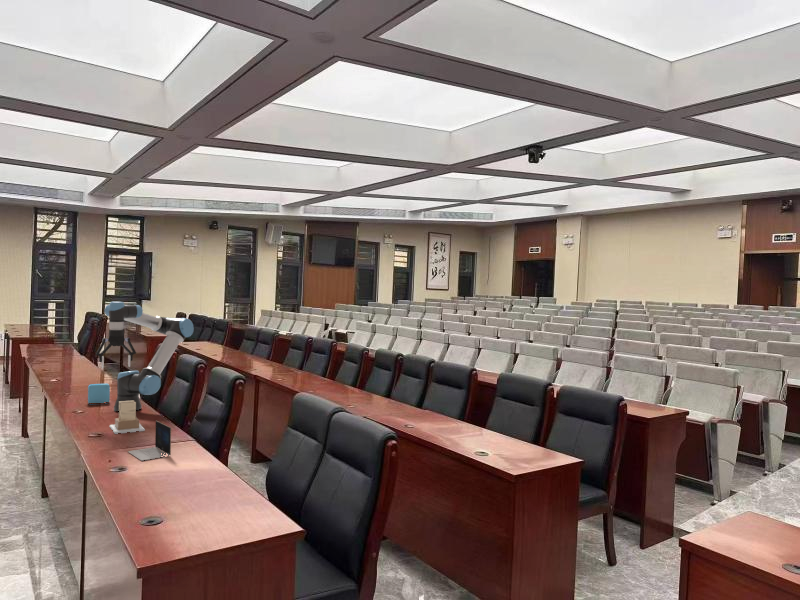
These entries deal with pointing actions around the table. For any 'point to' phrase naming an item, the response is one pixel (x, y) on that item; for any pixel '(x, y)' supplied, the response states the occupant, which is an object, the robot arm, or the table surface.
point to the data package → (98, 393)
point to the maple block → (127, 410)
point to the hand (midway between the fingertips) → (116, 367)
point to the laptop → (156, 444)
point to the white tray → (126, 426)
